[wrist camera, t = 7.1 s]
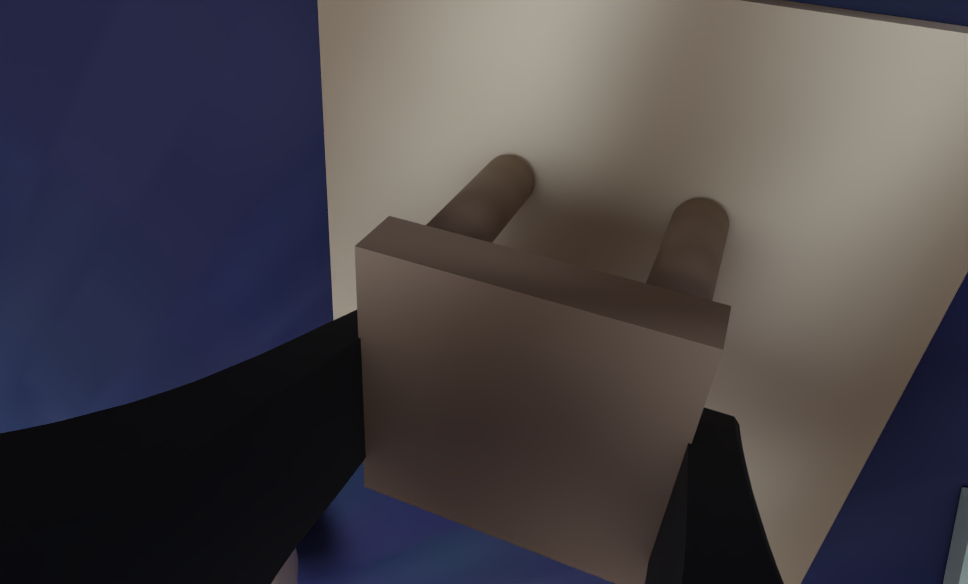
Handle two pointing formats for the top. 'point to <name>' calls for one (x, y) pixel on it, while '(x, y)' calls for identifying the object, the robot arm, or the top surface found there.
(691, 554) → the robot arm
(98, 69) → the top surface
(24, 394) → the top surface
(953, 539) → the upturned stool
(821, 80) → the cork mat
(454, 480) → the stool
